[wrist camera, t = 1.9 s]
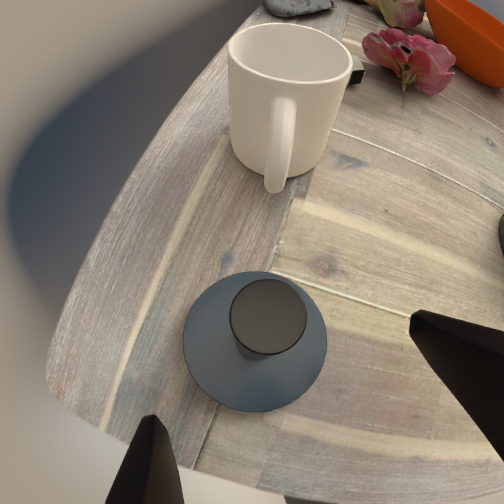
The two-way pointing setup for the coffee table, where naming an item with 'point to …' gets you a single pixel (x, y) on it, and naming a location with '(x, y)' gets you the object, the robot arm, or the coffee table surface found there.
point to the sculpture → (400, 11)
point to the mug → (284, 97)
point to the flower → (411, 59)
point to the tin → (501, 233)
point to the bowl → (470, 38)
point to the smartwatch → (356, 70)
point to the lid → (254, 341)
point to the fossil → (296, 6)
